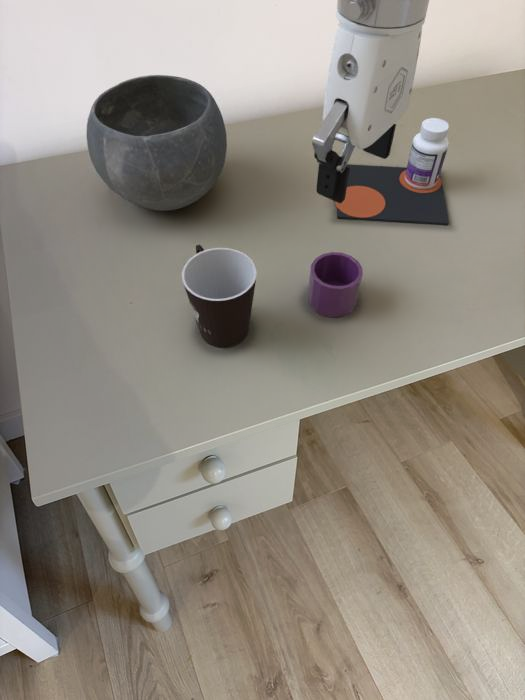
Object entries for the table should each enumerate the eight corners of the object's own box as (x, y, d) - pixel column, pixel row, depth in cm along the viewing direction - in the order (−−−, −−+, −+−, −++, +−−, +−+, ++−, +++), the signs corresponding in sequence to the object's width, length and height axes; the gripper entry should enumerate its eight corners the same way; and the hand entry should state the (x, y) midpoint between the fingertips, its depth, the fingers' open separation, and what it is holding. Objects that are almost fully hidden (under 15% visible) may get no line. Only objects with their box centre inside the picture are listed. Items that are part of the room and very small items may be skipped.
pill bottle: (423, 167, 89) (438, 111, 82) (444, 184, 86) (461, 128, 79) (397, 176, 88) (410, 120, 80) (417, 194, 85) (432, 138, 77)
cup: (356, 283, 74) (362, 253, 69) (356, 319, 70) (363, 290, 65) (308, 280, 74) (311, 250, 70) (306, 315, 70) (309, 286, 66)
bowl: (176, 142, 95) (164, 55, 83) (256, 193, 86) (255, 103, 74) (79, 191, 86) (50, 101, 74) (157, 253, 77) (137, 162, 65)
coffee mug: (256, 355, 66) (255, 301, 58) (188, 354, 66) (177, 300, 58) (258, 287, 73) (257, 231, 65) (196, 287, 73) (188, 230, 65)
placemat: (438, 171, 89) (439, 168, 89) (448, 225, 81) (449, 222, 81) (335, 165, 90) (335, 163, 90) (333, 218, 82) (334, 215, 82)
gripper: (372, 48, 39) (342, 230, 52) (467, -24, 47) (419, 149, 61) (287, 21, 41) (280, 202, 55) (391, -43, 50) (362, 128, 63)
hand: (353, 174), depth 58 cm, fingers open, 9 cm apart
